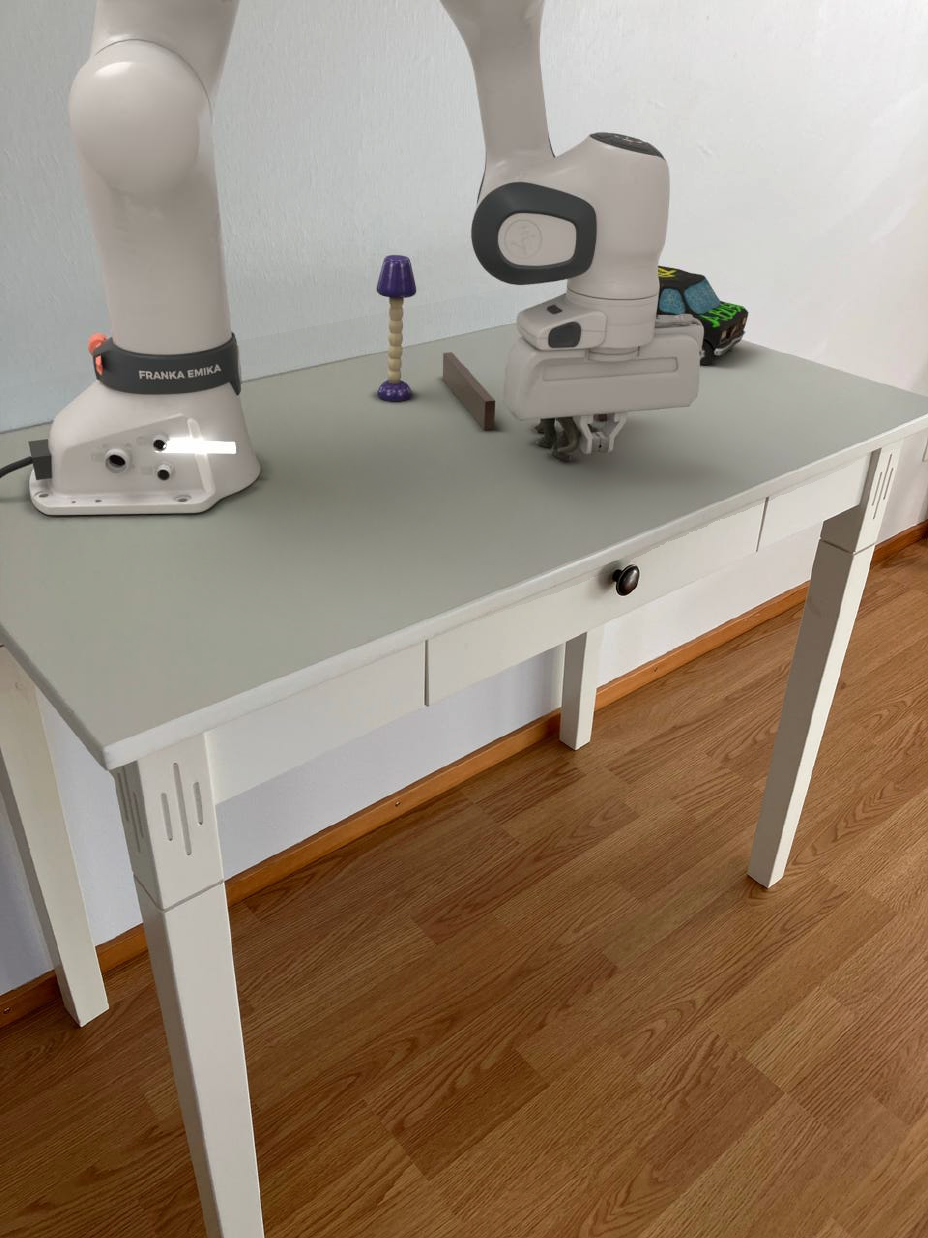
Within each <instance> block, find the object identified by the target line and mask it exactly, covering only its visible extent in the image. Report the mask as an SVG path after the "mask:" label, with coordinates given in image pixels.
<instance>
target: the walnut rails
mask: <svg viewBox="0 0 928 1238" xmlns="http://www.w3.org/2000/svg"><path fill="white" fill-rule="evenodd" d="M442 380H443V381H444V382H445V384H446V385H447V387H449V389H450V390H451V391H452V393H453V394H454V395H455V396H456V398H457V399H458V400H459V402H461V404H462V405H463V406H464V407H465V409H466V410H467V411H468V412H469V414H470V415H471V416H472V418H473V419H474V420H475V421H476V422H477V423H478V425H479V426H480V427H481V428H482V430H483V431H492V430H495V417H496V416H495V412H496V400H495V399H494V398H493V396H492V395H491V393H489V392H488V390H486V388H484V386H483V385H482V384H481V383H480V382H479V381H478V379H477V378H476V377H475V376H474V375H473V374H472V373H471V372H470V370H468V368H467V367H466V366H465V365H464V364H463V362H462V361H460V360H459V358H458V357H457V356H456V354H454V353H453V352H452V351H450V352H449V351H447V352H442ZM593 418H595V419H596V420H597V421H608V419H609V416H608V415H607V414H594V416H593Z"/></svg>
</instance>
